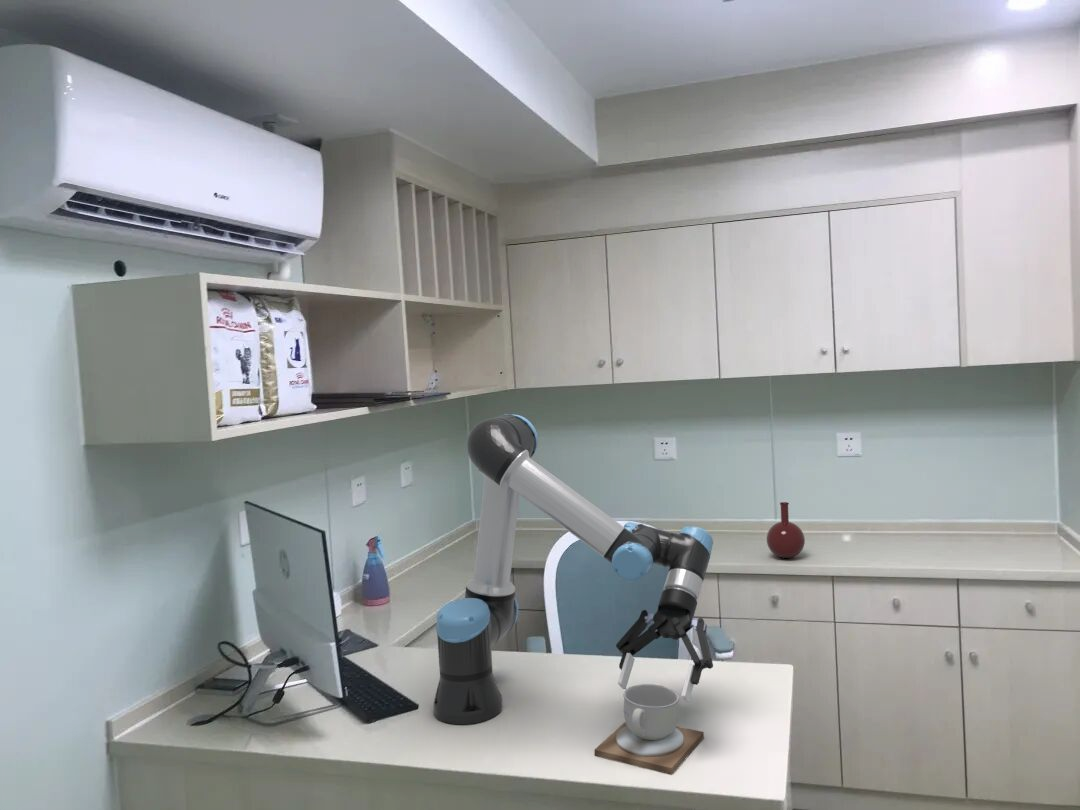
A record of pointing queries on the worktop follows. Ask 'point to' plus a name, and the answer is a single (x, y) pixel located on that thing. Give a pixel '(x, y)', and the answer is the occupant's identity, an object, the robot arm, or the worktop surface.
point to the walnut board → (650, 748)
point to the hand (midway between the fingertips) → (652, 692)
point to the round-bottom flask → (785, 536)
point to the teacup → (650, 710)
